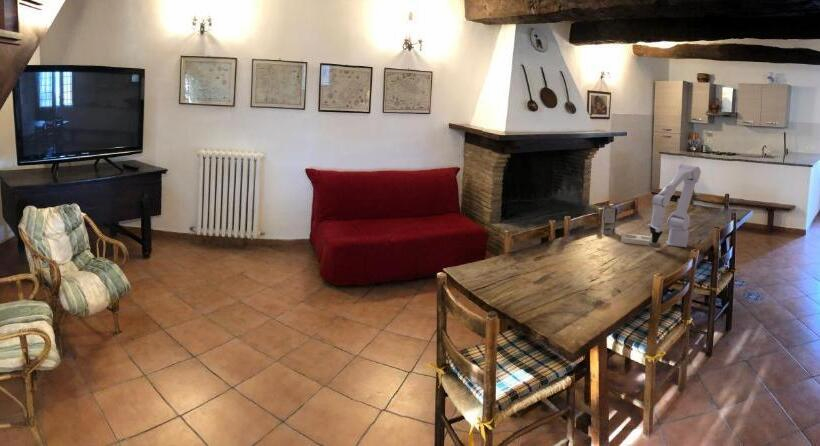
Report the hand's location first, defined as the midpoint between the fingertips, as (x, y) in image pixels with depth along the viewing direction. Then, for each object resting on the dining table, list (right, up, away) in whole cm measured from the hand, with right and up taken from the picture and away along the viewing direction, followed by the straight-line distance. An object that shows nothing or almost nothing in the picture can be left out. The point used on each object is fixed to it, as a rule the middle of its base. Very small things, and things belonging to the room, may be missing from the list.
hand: (653, 241), depth 270 cm
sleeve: (0, -2, 0) cm, 2 cm away
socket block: (-2, 0, +14) cm, 14 cm away
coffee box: (-14, +4, +29) cm, 32 cm away
